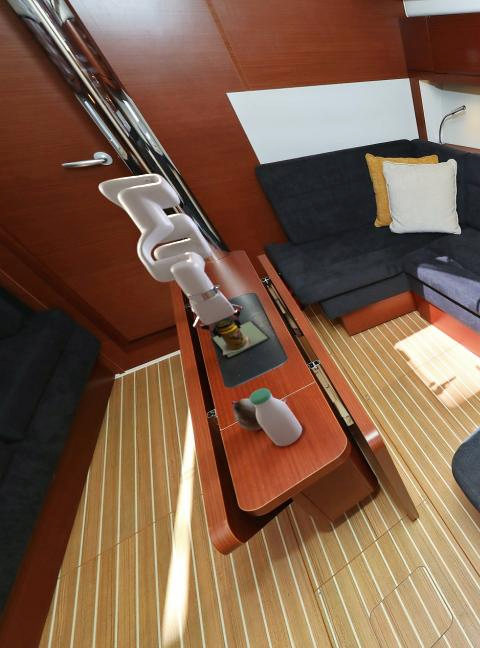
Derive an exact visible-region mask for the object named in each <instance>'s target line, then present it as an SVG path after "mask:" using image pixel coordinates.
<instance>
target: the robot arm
mask: <svg viewBox="0 0 480 648" xmlns="http://www.w3.org/2000/svg"><path fill="white" fill-rule="evenodd" d="M98 190H99V192H100V193H101V194H102V195H103V196H104V197H105V198H106V199H108V200H109V201H110V202H112V203H114V204H115V205H117V206H119V207H120V208H122V209H123V210H124V211H125V212H126V213H127V214H128V216H129V217H130V218H131V220H132V222H133V223H134V224H135V226H136V227H137V228H138V230H139V231H140V233H141V235H140V237H139V239H138V241H137V246H136V252H137V255H138V258H139V260H140V261H141V263H142V265H144V267H145V269H146V270H147V271H148V273H149V274H150V275H151V277H152V278H153V279H154V280H155V281H157V282H160V283H169V282H172V281H175V282H176V283H177V285H178V287H180V289H181V290H182V292H183V293H184V295H185V296H186V297H187V298H188V300H189V305H190V306H191V312H193V313H194V314H195V315H196V319H195V321H194V323H193V325H192V326H193V328H194V329H201V330H206V331H211V333H212V334H213V335H214V337H216V336H218V337H219V338H220V337H221V335H220V334H219V332H218V330H217V328H216V326H214V323H218V322H219V321H221V320H224V319H227V318H229V317H230V319H231V320H232V321H233V322H234V324H236V325H237V326H238V328H241V327H240V326H241V325H242V323H241V322H240V320H239V317H240V314H241V313H242V310H243V306H242V305H240V304H234V303H231V302H230V301H229V299H228V298H227V297H226V296H225V295H224V294H223V293H222V292H221V291H220V289H221V286H220V284H213V282H212V281H211V280H210V278H209V277H208V275H207V273H206V272H205V266H206V261H205V259H208V258H210V257H212V255H213V251H212V249H211V247H210V245H209V244H208V242H207V240H206V239H205V237H204V236H203V234H202V232H201V231H200V229H199V227H198V226H197V224H196V223H195V221H194V220H193V219H192V218H191V217H190V216H189V215H187V214H186V213H173V214H170V215H167V213H165V211H164V210H165V209H169V208H174V207H178V206H179V205H180V204H181V199H180V197H179V196H178V193H177V192H176V190H175V189H174V188H173V187H172V185H171V184H170V183H169V182H168V181H167V180H166V179H165V178H164V177H163V176H162V175H160V174H158V173H149V174H142V175H134V176H127V177H120V178H114V179H108V180H105V181H103V182H101V183H99V184H98ZM182 239H183V240H182ZM177 240H179V241H177ZM169 242H171V243H169ZM165 243H166V244H165ZM158 244H163V245H160V246H158V247H157V248H155V246H156V245H158ZM154 248H155V249H154ZM153 249H154V251H153ZM152 251H153V256H154V258H155V259H156V260H154V259H153V258H152ZM235 309H236V310H235ZM201 323H202V324H201Z"/></svg>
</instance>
